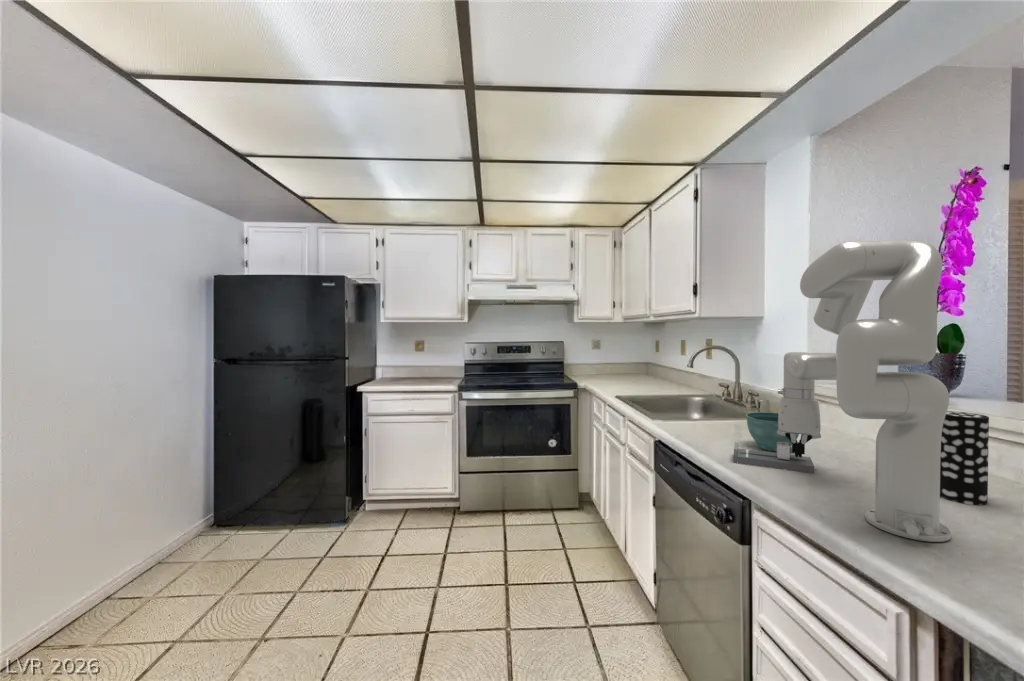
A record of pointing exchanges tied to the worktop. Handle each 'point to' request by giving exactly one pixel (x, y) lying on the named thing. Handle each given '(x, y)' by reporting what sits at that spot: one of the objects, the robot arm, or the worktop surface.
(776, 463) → the fader console
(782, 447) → the fader knob
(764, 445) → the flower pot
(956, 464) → the white-spotted black cylinder
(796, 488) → the worktop surface
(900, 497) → the robot arm
